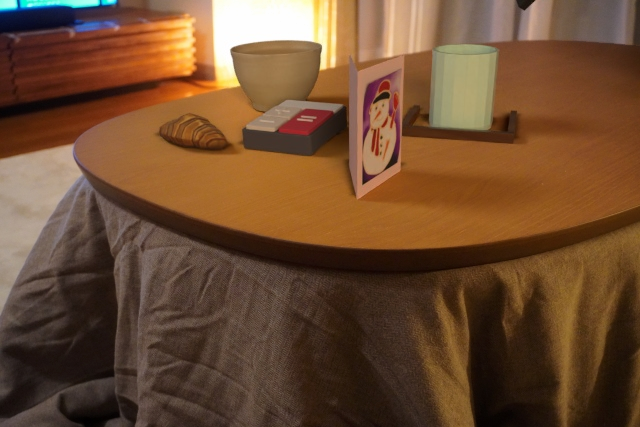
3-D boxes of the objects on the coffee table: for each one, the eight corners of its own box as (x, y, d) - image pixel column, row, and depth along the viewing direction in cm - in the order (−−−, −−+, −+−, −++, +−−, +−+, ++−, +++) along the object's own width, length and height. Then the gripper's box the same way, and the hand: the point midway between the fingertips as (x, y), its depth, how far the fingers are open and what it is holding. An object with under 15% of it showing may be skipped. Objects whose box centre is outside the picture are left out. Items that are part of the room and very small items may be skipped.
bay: (413, 113, 107) (414, 104, 107) (516, 119, 102) (517, 110, 102) (398, 135, 96) (399, 126, 95) (513, 143, 91) (514, 133, 90)
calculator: (240, 124, 90) (285, 96, 102) (243, 152, 92) (286, 121, 104) (309, 131, 86) (347, 101, 98) (311, 160, 88) (348, 127, 100)
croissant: (145, 143, 95) (140, 111, 93) (178, 132, 100) (174, 102, 98) (208, 159, 87) (205, 124, 85) (241, 146, 92) (238, 113, 90)
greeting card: (363, 201, 72) (364, 72, 66) (310, 189, 76) (307, 66, 70) (406, 171, 81) (410, 55, 75) (356, 162, 85) (357, 50, 79)
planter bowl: (311, 94, 122) (310, 37, 118) (332, 114, 108) (332, 50, 103) (230, 100, 119) (225, 42, 114) (240, 122, 104) (235, 56, 100)
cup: (505, 128, 98) (513, 51, 93) (450, 136, 95) (455, 57, 90) (468, 113, 106) (474, 42, 101) (417, 120, 103) (420, 47, 98)
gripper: (509, -43, 126) (536, 34, 112) (462, -74, 120) (484, 2, 106) (538, -73, 121) (570, 4, 107) (490, -107, 115) (517, -31, 101)
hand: (527, 3), depth 107 cm, fingers closed
